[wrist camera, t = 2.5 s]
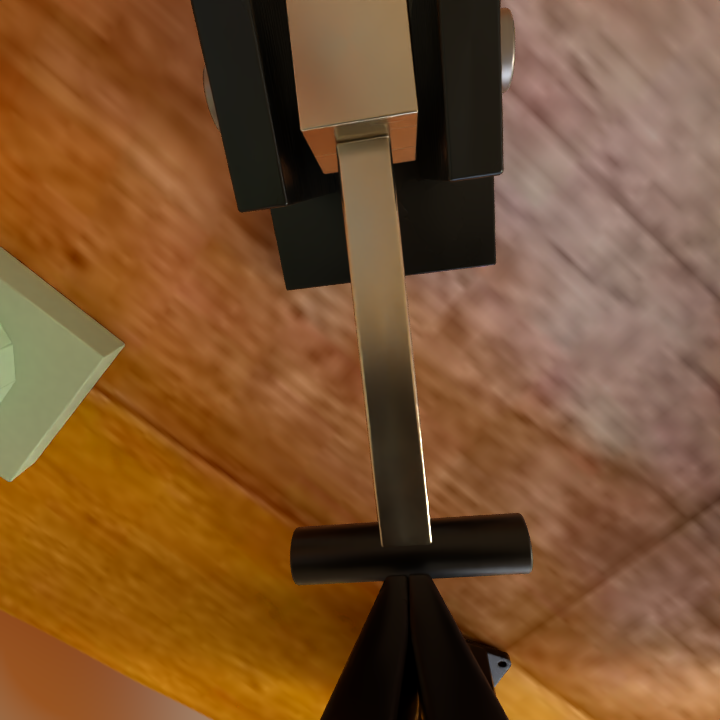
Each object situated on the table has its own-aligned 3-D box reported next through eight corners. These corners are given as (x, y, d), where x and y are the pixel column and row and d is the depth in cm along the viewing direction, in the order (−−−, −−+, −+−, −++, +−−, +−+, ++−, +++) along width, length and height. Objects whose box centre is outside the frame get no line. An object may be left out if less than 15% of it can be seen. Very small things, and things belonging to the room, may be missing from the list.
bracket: (489, 259, 18) (583, 337, 9) (292, 284, 19) (208, 377, 10) (478, -103, 14) (627, -577, 5) (227, -50, 15) (-9, -376, 6)
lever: (514, 542, 11) (544, 604, 8) (311, 554, 11) (285, 615, 9) (466, 23, 10) (485, -71, 8) (250, 62, 11) (205, -14, 8)
